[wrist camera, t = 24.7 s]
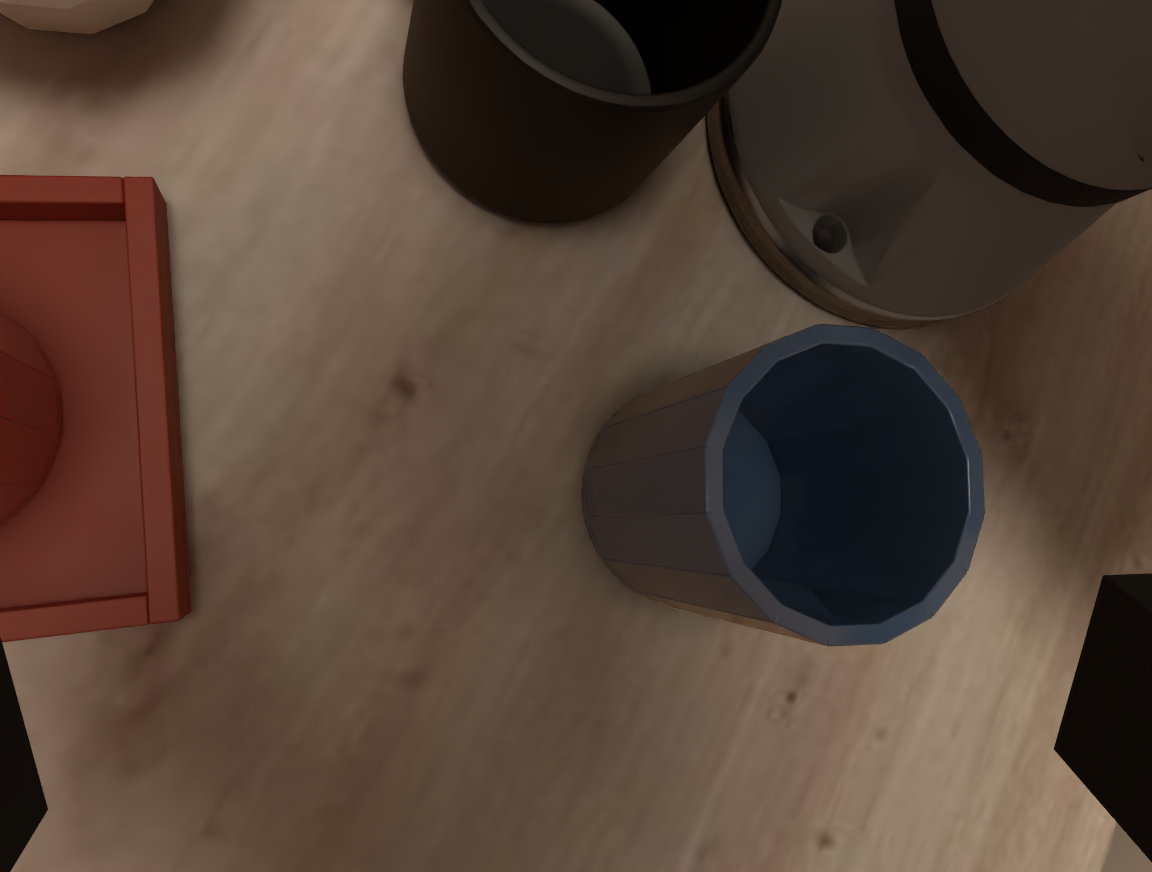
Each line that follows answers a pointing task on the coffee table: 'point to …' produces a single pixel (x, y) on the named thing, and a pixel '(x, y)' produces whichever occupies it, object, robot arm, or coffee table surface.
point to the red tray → (96, 408)
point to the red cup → (25, 416)
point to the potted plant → (72, 13)
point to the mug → (569, 92)
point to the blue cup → (793, 489)
